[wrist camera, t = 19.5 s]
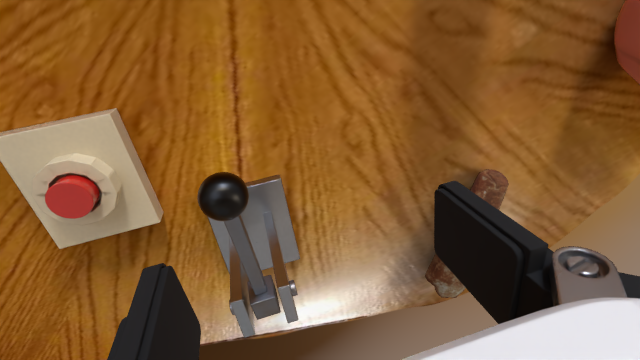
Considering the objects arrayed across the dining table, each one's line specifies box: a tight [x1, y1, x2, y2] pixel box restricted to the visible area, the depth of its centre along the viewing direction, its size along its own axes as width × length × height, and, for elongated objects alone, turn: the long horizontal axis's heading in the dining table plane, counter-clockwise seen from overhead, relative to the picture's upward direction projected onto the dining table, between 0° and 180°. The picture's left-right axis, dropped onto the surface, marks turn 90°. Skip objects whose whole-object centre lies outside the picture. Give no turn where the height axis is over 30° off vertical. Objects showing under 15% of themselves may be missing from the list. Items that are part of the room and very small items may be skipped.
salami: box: [425, 169, 508, 298], centre depth 47 cm, size 6×19×6 cm, turn 161°
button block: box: [0, 108, 163, 249], centre depth 32 cm, size 12×10×4 cm
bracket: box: [208, 175, 300, 338], centre depth 35 cm, size 12×9×14 cm
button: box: [45, 175, 99, 219], centre depth 30 cm, size 4×4×2 cm
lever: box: [198, 172, 281, 320], centre depth 26 cm, size 16×3×3 cm, turn 10°
